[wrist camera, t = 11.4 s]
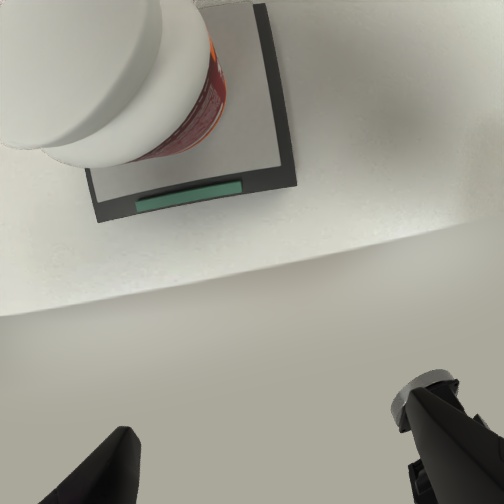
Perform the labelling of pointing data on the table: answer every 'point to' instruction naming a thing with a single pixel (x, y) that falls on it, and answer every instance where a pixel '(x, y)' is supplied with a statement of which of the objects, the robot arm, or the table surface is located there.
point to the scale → (216, 131)
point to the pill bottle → (107, 79)
